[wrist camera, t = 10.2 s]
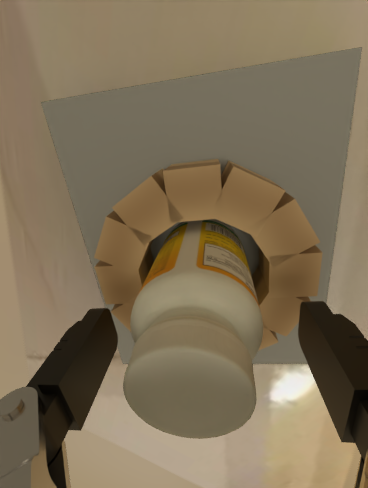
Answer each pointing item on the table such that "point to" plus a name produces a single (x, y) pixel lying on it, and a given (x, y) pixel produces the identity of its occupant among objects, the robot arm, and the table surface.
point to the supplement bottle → (195, 335)
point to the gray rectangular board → (215, 149)
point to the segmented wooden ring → (223, 209)
